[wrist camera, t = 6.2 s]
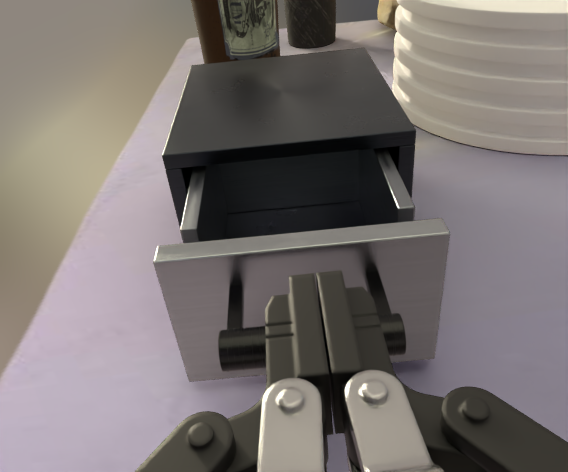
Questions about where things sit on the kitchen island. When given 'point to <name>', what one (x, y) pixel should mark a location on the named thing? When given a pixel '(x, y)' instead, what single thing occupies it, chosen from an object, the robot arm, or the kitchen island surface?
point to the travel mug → (310, 22)
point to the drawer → (298, 254)
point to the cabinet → (285, 114)
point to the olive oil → (237, 29)
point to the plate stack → (485, 72)
